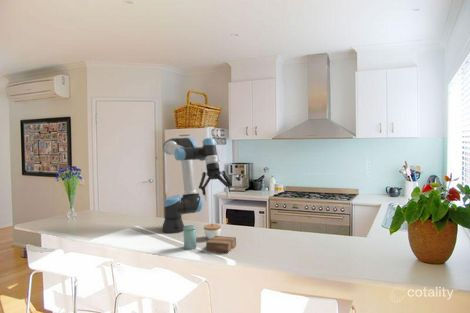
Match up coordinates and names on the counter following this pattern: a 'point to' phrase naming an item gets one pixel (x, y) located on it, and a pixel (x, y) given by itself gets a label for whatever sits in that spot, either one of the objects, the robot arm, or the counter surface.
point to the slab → (221, 244)
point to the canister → (189, 237)
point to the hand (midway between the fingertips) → (217, 199)
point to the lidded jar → (212, 230)
